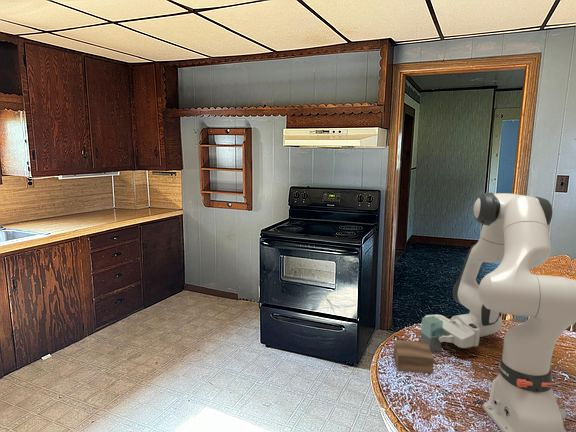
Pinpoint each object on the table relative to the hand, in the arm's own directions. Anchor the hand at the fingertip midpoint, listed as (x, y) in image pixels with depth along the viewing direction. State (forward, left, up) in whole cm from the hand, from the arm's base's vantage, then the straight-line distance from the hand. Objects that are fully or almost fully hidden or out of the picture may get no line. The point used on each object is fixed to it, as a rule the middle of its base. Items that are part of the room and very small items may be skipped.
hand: (429, 333), depth 144 cm
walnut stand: (-11, +7, -6) cm, 14 cm away
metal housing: (0, -1, -6) cm, 6 cm away
